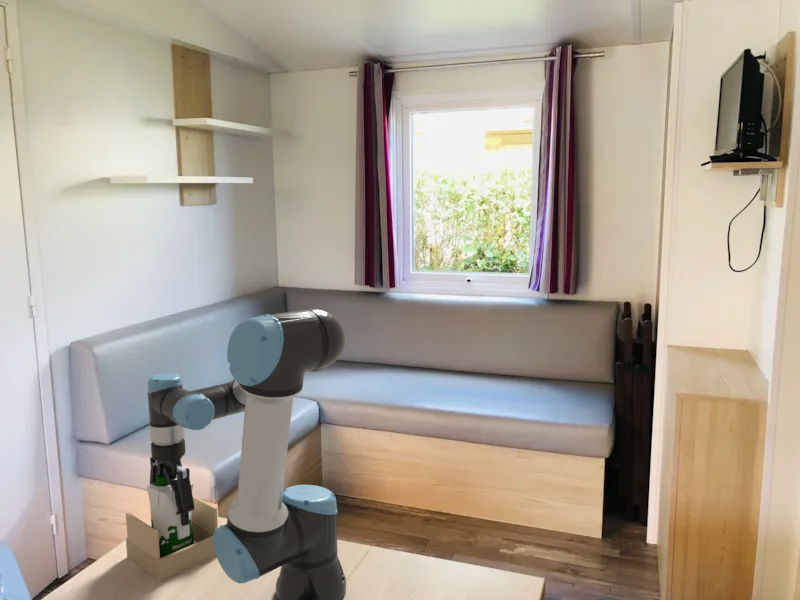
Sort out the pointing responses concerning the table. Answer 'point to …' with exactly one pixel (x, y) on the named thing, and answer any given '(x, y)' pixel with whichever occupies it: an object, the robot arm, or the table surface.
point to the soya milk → (167, 517)
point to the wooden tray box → (147, 555)
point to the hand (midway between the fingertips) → (172, 530)
